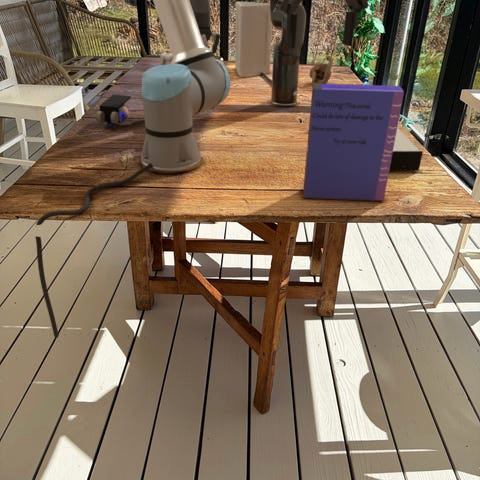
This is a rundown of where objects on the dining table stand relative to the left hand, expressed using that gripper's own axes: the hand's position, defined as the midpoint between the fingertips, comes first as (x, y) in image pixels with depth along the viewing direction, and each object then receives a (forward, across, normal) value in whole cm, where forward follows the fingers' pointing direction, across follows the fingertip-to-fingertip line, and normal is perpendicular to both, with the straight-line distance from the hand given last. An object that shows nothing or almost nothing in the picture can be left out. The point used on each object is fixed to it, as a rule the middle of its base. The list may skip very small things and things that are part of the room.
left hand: (319, 46), depth 103 cm
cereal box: (+30, -2, +14) cm, 33 cm away
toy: (+30, -3, -130) cm, 133 cm away
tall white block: (+30, -28, -113) cm, 120 cm away
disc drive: (+30, -23, -6) cm, 38 cm away
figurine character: (+30, +41, -54) cm, 74 cm away
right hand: (+15, +11, -61) cm, 64 cm away
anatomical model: (+30, -46, -83) cm, 100 cm away
